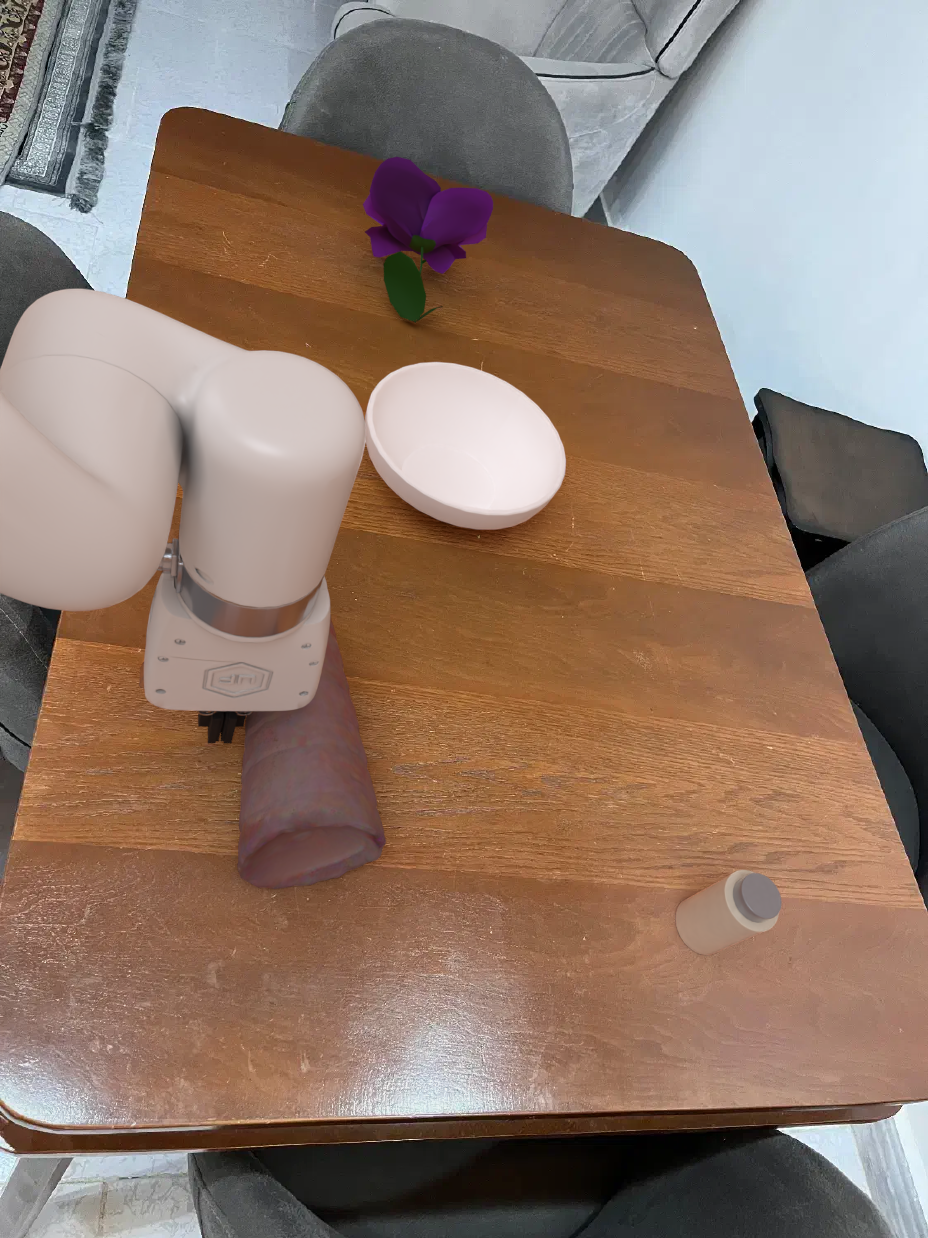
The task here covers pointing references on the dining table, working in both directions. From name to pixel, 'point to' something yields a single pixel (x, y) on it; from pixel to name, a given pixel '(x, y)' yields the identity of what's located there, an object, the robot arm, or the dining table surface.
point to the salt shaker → (728, 912)
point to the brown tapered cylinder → (307, 789)
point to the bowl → (463, 445)
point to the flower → (420, 228)
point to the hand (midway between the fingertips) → (219, 724)
